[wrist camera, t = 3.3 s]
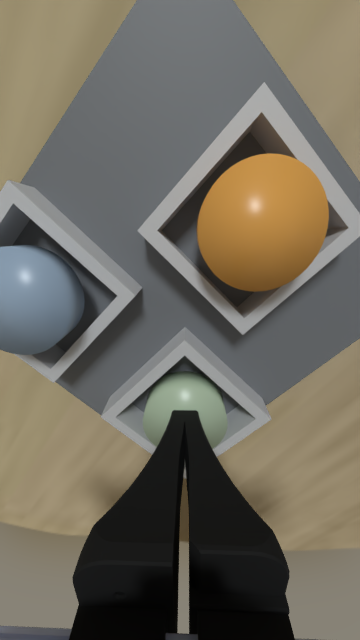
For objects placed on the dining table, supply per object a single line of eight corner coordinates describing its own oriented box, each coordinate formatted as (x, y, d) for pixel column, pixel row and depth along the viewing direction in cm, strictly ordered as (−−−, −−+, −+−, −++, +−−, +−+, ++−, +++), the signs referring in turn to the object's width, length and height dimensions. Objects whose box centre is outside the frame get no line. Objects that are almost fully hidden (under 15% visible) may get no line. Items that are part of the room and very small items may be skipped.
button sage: (239, 404, 15) (245, 425, 13) (185, 444, 16) (185, 468, 14) (184, 356, 14) (184, 372, 12) (132, 403, 15) (125, 423, 13)
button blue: (103, 294, 11) (90, 305, 10) (50, 355, 13) (30, 373, 11) (20, 221, 10) (-11, 219, 9) (-30, 295, 12) (-64, 305, 10)
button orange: (328, 228, 10) (355, 227, 9) (244, 303, 11) (253, 314, 10) (258, 137, 9) (273, 117, 8) (173, 230, 10) (171, 229, 9)
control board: (412, 281, 14) (471, 294, 11) (176, 455, 19) (174, 495, 16) (183, -36, 10) (181, -148, 7) (-37, 295, 15) (-90, 310, 12)
